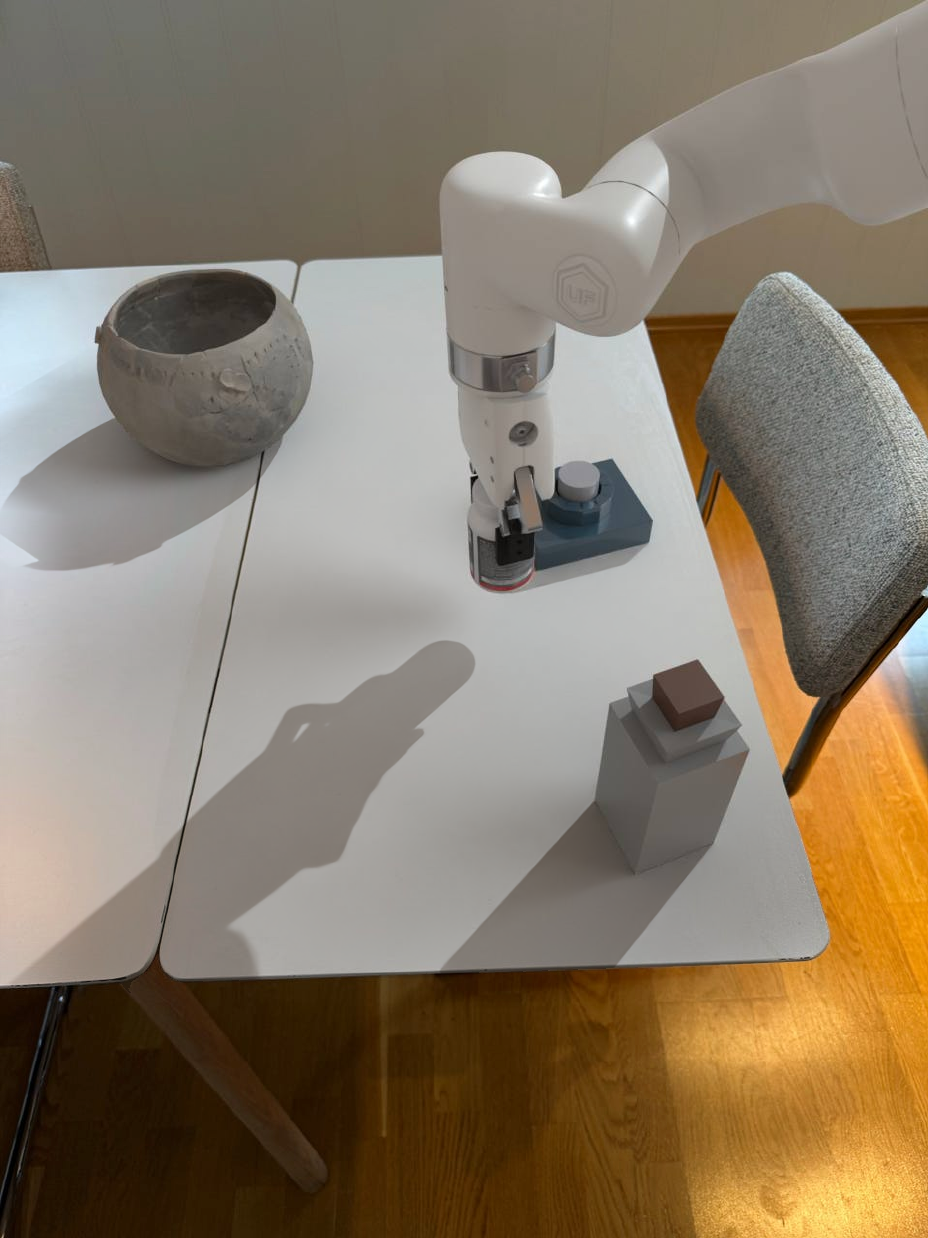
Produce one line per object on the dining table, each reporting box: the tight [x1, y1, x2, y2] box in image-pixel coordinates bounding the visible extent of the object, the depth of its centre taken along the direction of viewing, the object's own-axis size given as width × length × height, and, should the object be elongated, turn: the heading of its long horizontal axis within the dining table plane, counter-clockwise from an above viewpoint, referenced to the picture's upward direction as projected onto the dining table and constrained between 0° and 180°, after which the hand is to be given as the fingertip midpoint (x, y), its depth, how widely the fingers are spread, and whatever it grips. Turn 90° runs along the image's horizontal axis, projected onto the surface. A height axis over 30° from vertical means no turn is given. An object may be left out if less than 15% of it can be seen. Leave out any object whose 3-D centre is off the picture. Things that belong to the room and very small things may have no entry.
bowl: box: [94, 268, 314, 467], centre depth 99 cm, size 23×23×15 cm
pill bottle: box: [466, 478, 535, 595], centre depth 76 cm, size 6×6×10 cm
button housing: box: [534, 458, 654, 571], centre depth 90 cm, size 12×10×5 cm
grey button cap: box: [557, 460, 600, 503], centre depth 88 cm, size 4×4×2 cm
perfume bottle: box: [594, 658, 751, 875], centre depth 63 cm, size 7×7×18 cm
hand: (501, 532), depth 76 cm, fingers closed on pill bottle, 5 cm apart
